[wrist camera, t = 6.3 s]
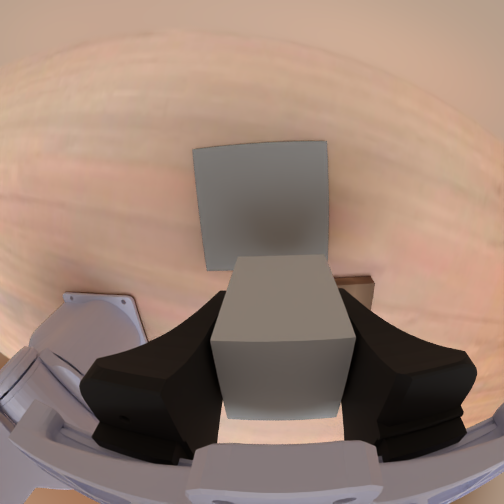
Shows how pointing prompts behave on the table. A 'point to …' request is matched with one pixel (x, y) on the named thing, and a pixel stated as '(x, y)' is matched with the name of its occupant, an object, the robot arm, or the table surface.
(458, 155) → the table surface
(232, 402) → the block
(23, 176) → the table surface
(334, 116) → the table surface
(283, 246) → the coaster
